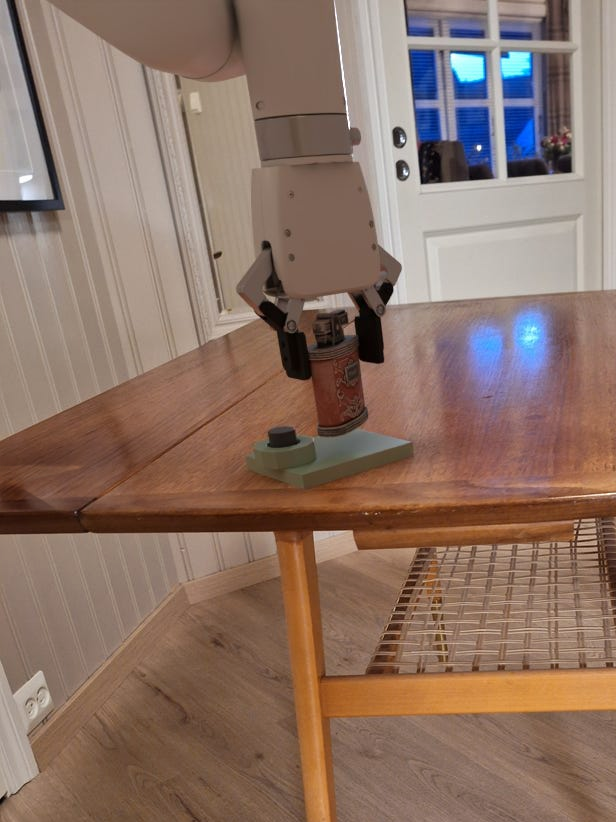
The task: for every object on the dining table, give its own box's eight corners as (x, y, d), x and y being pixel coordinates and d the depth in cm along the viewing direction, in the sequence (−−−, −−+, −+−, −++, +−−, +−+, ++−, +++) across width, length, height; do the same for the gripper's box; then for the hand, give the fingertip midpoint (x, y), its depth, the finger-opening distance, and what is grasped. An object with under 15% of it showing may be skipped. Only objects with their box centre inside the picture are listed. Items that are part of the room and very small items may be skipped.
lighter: (345, 437, 77) (329, 319, 72) (310, 437, 78) (291, 320, 73) (375, 414, 84) (362, 305, 79) (343, 415, 85) (328, 306, 80)
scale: (293, 494, 74) (287, 459, 72) (236, 473, 80) (229, 441, 79) (414, 456, 81) (410, 424, 80) (352, 440, 88) (348, 410, 86)
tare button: (279, 452, 76) (276, 434, 75) (265, 447, 77) (262, 430, 77) (302, 445, 77) (300, 428, 76) (288, 441, 79) (285, 424, 78)
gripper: (365, 145, 78) (388, 350, 86) (184, 153, 68) (230, 384, 76) (417, 138, 72) (436, 357, 81) (230, 145, 63) (274, 394, 71)
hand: (336, 368), depth 78 cm, fingers closed on lighter, 7 cm apart
